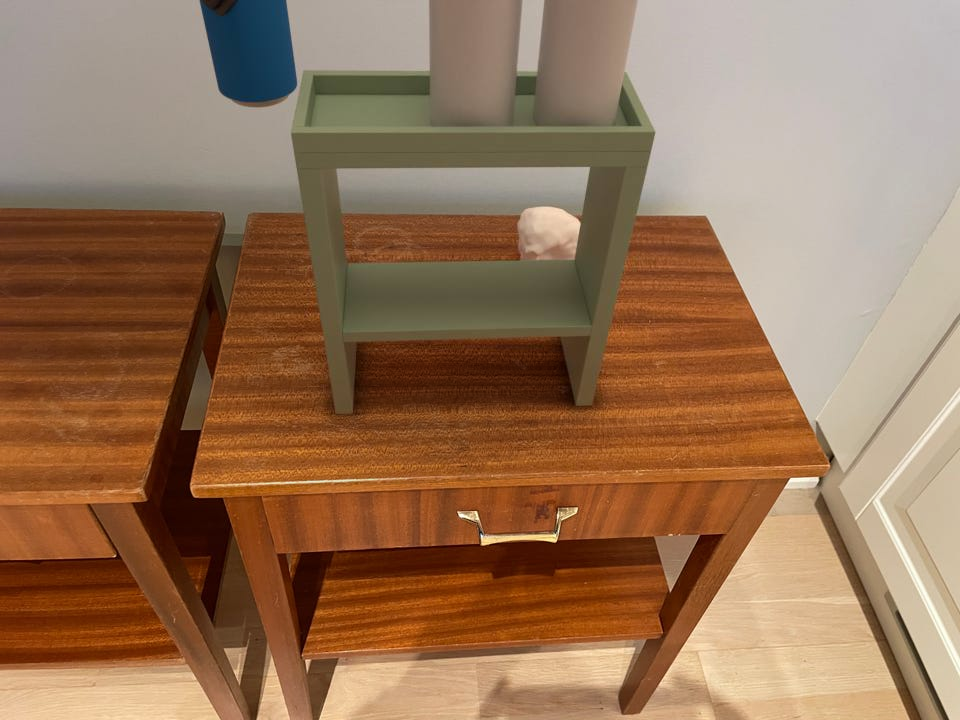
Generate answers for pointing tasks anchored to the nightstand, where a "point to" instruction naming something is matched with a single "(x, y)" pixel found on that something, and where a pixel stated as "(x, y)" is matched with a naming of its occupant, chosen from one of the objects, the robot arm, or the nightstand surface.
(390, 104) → the can shelf
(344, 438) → the nightstand surface
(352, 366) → the shelf stand
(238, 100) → the beverage can
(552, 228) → the pale pink lump
